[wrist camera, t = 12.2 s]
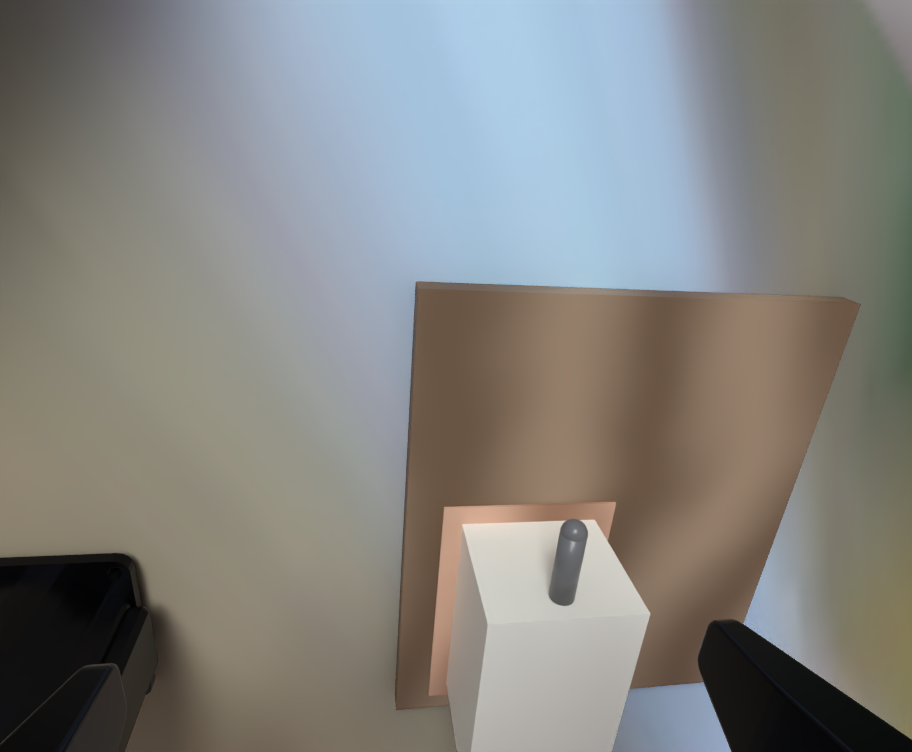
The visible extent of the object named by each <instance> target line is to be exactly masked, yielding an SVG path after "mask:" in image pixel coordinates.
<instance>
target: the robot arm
mask: <svg viewBox="0 0 912 752" xmlns="http://www.w3.org/2000/svg"><path fill="white" fill-rule="evenodd" d="M112 567H116V568H119V569H120V570H121V571H118V570H114V569H113V568H112ZM157 662H158V656H157V651H156V645H155V639H154V634H153V628H152V622H151V617H150V612H149V611H148V610H147V609H146V607H145V606H142V603H141V598H140V592H139V587H138V581H137V576H136V570H135V565H134V562H133V560H132V559H131V558H130V557H129V556H126V555H124V554H118V553H112V554H87V555H62V556H38V557H13V558H0V752H125V749H126V746H127V744H128V741H129V738H130V735H131V733H132V730H133V727H134V725H135V722H136V719H137V716H138V714H139V711H140V708H141V706H142V703H143V700H144V697H145V695H146V694H148V693H149V692H150V691H151V689H152V686H153V684H154V681H155V674H154V670H155V668H156V665H157ZM698 668H699V671H700V674H701V677H702V679H703V682H704V684H705V687H706V689H707V692H708V694H709V697H710V699H711V702H712V704H713V707H714V709H715V712H716V714H717V717H718V719H719V722H720V724H721V727H722V729H723V732H724V734H725V737H726V739H727V742H728V744H729V747H730V749H731V752H912V740H911V739H910V738H908V737H907V736H905V735H904V734H903V733H901V732H900V731H898V730H897V729H895V728H894V727H892V726H891V725H889V724H888V723H887V722H885V721H884V720H882V719H881V718H879V717H878V716H876V715H875V714H873V713H872V712H870V711H869V710H868V709H866V708H865V707H863V706H862V705H860V704H859V703H857V702H856V701H854V700H853V699H852V698H850V697H849V696H847V695H846V694H844V693H843V692H841V691H840V690H838V689H837V688H836V687H834V686H833V685H831V684H830V683H828V682H827V681H825V680H824V679H822V678H821V677H820V676H818V675H817V674H815V673H814V672H812V671H811V670H809V669H808V668H806V667H805V666H804V665H802V664H801V663H799V662H798V661H796V660H795V659H793V658H792V657H790V656H789V655H788V654H786V653H785V652H783V651H782V650H780V649H779V648H777V647H776V646H774V645H773V644H772V643H770V642H769V641H767V640H766V639H764V638H763V637H761V636H760V635H758V634H757V633H756V632H754V631H753V630H751V629H750V628H748V627H747V626H745V625H744V624H742V623H741V622H739V621H737V620H735V619H721V620H713V621H711V622H710V623H709V624H708V626H707V629H706V632H705V635H704V638H703V641H702V644H701V647H700V649H699V652H698Z"/></svg>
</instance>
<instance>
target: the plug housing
mask: <svg viewBox="0 0 912 752" xmlns="http://www.w3.org/2000/svg"><path fill="white" fill-rule="evenodd" d="M649 617H650V612H649V610H648V609H647V607H646V605H645V604H644V602H643V600H642V599H641V597H640V595H639V593H638V592H637V590H636V588H635V587H634V585H633V583H632V582H631V580H630V578H629V577H628V575H627V573H626V572H625V570H624V568H623V566H622V565H621V563H620V561H619V560H618V558H617V556H616V555H615V553H614V551H613V550H612V548H611V546H610V544H609V543H608V541H607V539H606V538H605V536H604V534H603V533H602V531H601V529H600V528H599V526H598V524H597V522H596V521H595V520H578V519H569V520H567V521H541V522H513V523H485V524H462V531H461V541H460V551H459V561H458V570H457V580H456V590H455V600H454V610H453V620H452V630H451V640H450V650H449V660H448V670H447V679H446V685H447V691H448V698H449V704H450V710H451V717H452V723H453V730H454V736H455V742H456V749H457V752H612V749H613V745H614V742H615V738H616V735H617V731H618V727H619V724H620V720H621V717H622V713H623V710H624V706H625V703H626V699H627V695H628V692H629V688H630V685H631V681H632V678H633V674H634V671H635V667H636V663H637V660H638V656H639V653H640V649H641V646H642V642H643V639H644V635H645V631H646V628H647V624H648V621H649Z"/></svg>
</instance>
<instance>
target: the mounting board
mask: <svg viewBox="0 0 912 752" xmlns="http://www.w3.org/2000/svg"><path fill="white" fill-rule="evenodd" d="M860 305H861V304H859V303H857V302H854V301H851V300H848V299H846V298H843V297H817V296H790V295H763V294H736V293H709V292H682V291H656V290H629V289H602V288H575V287H548V286H522V285H495V284H468V283H441V282H416V290H415V309H414V329H413V349H412V368H411V388H410V408H409V427H408V447H407V467H406V486H405V506H404V526H403V545H402V565H401V585H400V604H399V624H398V644H397V663H396V683H395V700H396V710H401V709H412V708H423V707H434V706H445V705H450V704H449V698H448V691H447V685H446V679H447V670H448V660H449V650H450V640H451V630H452V620H453V610H454V600H455V590H456V580H457V570H458V561H459V551H460V541H461V531H462V524H485V523H513V522H541V521H567V520H569V519H578V520H595V521H596V522H597V524H598V526H599V528H600V529H601V531H602V533H603V534H604V536H605V538H606V539H607V541H608V543H609V544H610V546H611V548H612V550H613V551H614V553H615V555H616V556H617V558H618V560H619V561H620V563H621V565H622V566H623V568H624V570H625V572H626V573H627V575H628V577H629V578H630V580H631V582H632V583H633V585H634V587H635V588H636V590H637V592H638V593H639V595H640V597H641V599H642V600H643V602H644V604H645V605H646V607H647V609H648V610H649V612H650V617H649V621H648V624H647V628H646V631H645V635H644V639H643V642H642V646H641V649H640V653H639V656H638V660H637V663H636V667H635V671H634V674H633V678H632V681H631V685H630V688H629V689H633V688H644V687H655V686H666V685H677V684H688V683H699V682H703V679H702V677H701V674H700V671H699V668H698V652H699V649H700V647H701V644H702V641H703V638H704V635H705V632H706V629H707V626H708V624H709V623H710V622H711V621H713V620H721V619H735V620H737V621H739V622H741V623H742V624H743V623H744V620H745V617H746V614H747V612H748V609H749V606H750V604H751V601H752V598H753V596H754V593H755V590H756V587H757V585H758V582H759V579H760V577H761V574H762V571H763V568H764V566H765V563H766V560H767V558H768V555H769V552H770V549H771V547H772V544H773V541H774V539H775V536H776V533H777V530H778V528H779V525H780V522H781V520H782V517H783V514H784V511H785V509H786V506H787V503H788V501H789V498H790V495H791V492H792V490H793V487H794V484H795V482H796V479H797V476H798V473H799V471H800V468H801V465H802V463H803V460H804V457H805V454H806V452H807V449H808V446H809V444H810V441H811V438H812V435H813V433H814V430H815V427H816V425H817V422H818V419H819V417H820V414H821V411H822V408H823V406H824V403H825V400H826V398H827V395H828V392H829V389H830V387H831V384H832V381H833V379H834V376H835V373H836V370H837V368H838V365H839V362H840V360H841V357H842V354H843V351H844V349H845V346H846V343H847V341H848V338H849V335H850V332H851V330H852V327H853V324H854V322H855V319H856V316H857V313H858V311H859V308H860Z"/></svg>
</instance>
